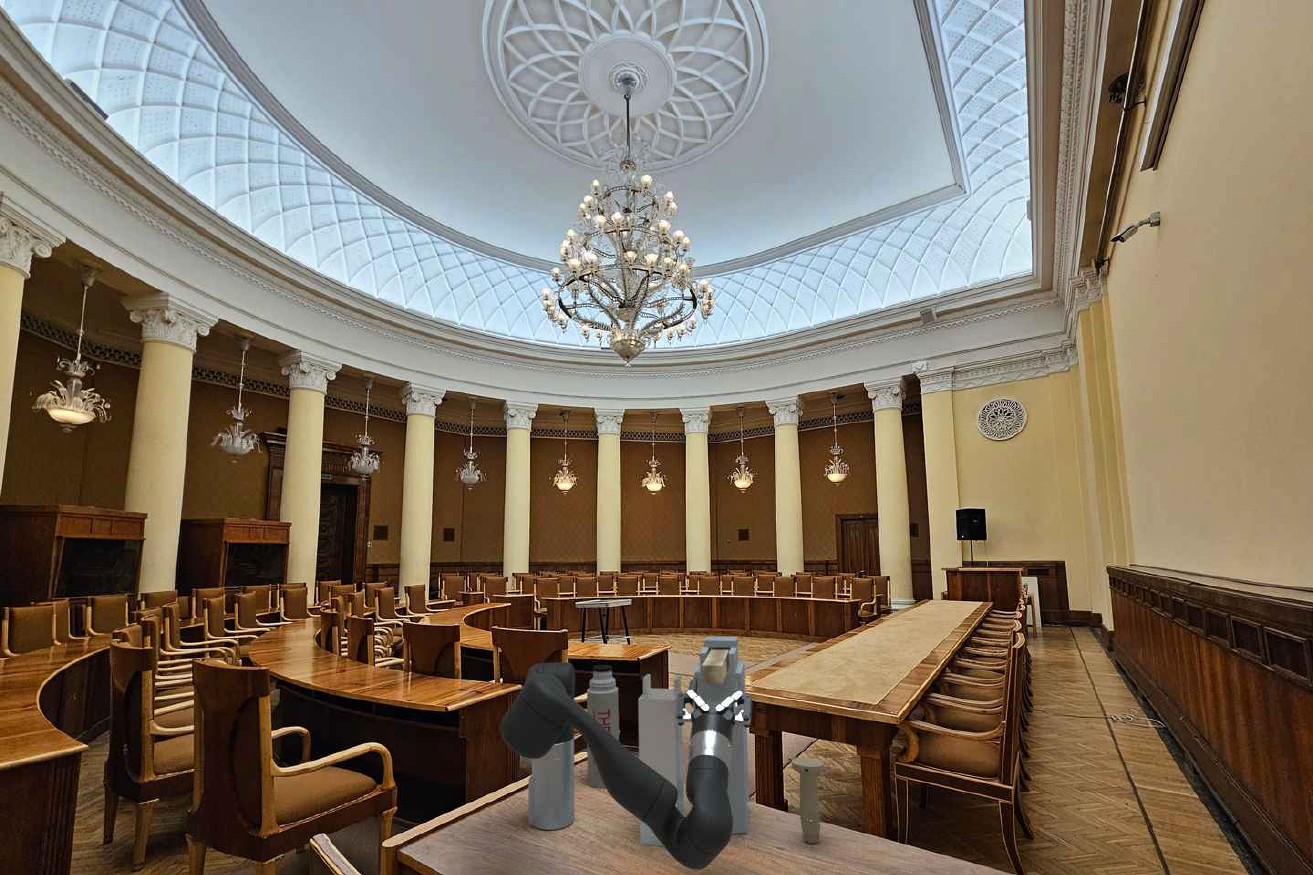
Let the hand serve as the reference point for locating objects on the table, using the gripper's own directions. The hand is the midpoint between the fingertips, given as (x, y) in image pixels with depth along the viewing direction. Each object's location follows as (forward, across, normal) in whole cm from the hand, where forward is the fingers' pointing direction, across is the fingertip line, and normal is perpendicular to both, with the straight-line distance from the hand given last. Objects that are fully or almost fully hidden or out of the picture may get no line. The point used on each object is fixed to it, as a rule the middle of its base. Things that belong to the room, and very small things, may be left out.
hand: (716, 680), depth 131 cm
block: (+8, -1, -5) cm, 10 cm away
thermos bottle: (+11, -33, -44) cm, 56 cm away
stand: (-4, -1, -36) cm, 36 cm away
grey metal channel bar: (-12, -13, -31) cm, 35 cm away
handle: (-10, +17, -32) cm, 38 cm away
